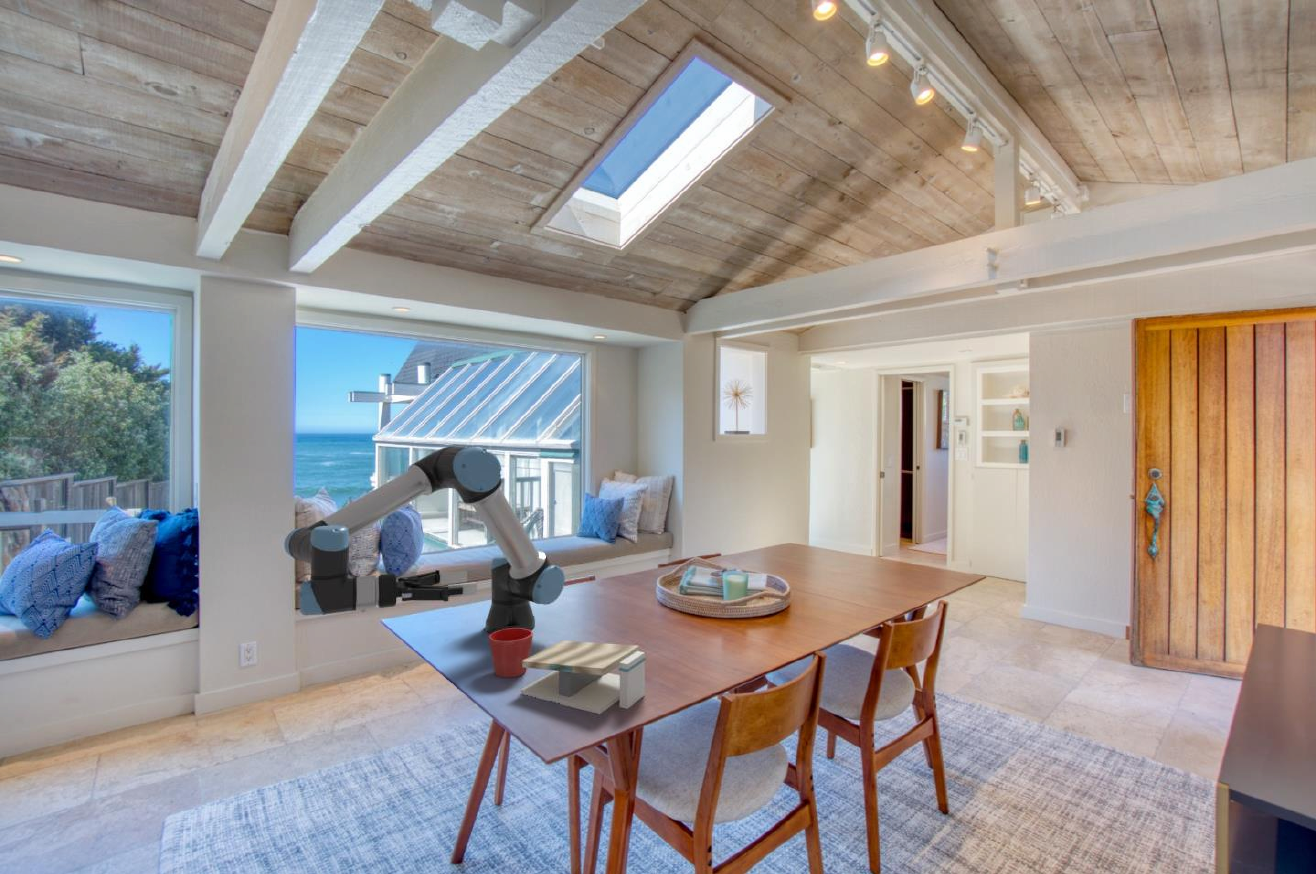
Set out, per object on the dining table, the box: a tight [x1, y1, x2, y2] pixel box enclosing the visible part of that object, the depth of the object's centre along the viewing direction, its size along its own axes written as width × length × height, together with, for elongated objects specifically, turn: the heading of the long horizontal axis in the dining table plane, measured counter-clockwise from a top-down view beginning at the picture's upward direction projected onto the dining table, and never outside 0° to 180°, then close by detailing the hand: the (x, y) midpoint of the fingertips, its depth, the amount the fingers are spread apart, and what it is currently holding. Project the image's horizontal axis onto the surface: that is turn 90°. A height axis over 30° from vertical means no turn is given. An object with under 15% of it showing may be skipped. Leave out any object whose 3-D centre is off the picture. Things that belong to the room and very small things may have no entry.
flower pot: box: [488, 628, 534, 678], centre depth 153 cm, size 11×11×10 cm
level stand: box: [520, 650, 646, 715], centre depth 142 cm, size 26×18×10 cm
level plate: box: [522, 639, 641, 675], centre depth 143 cm, size 23×16×2 cm
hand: (471, 581), depth 148 cm, fingers open, 13 cm apart
